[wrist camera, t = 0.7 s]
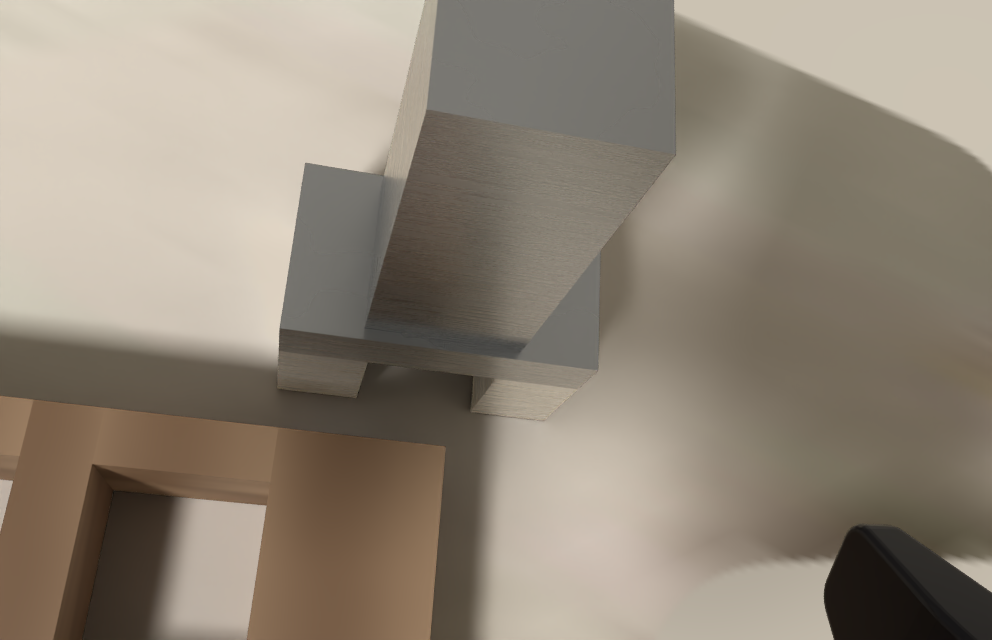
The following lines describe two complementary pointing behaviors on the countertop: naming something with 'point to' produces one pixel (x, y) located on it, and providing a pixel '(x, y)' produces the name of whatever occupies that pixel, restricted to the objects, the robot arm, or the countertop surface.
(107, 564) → the countertop surface
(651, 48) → the grey tower on plinth
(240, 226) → the countertop surface
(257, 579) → the rail
